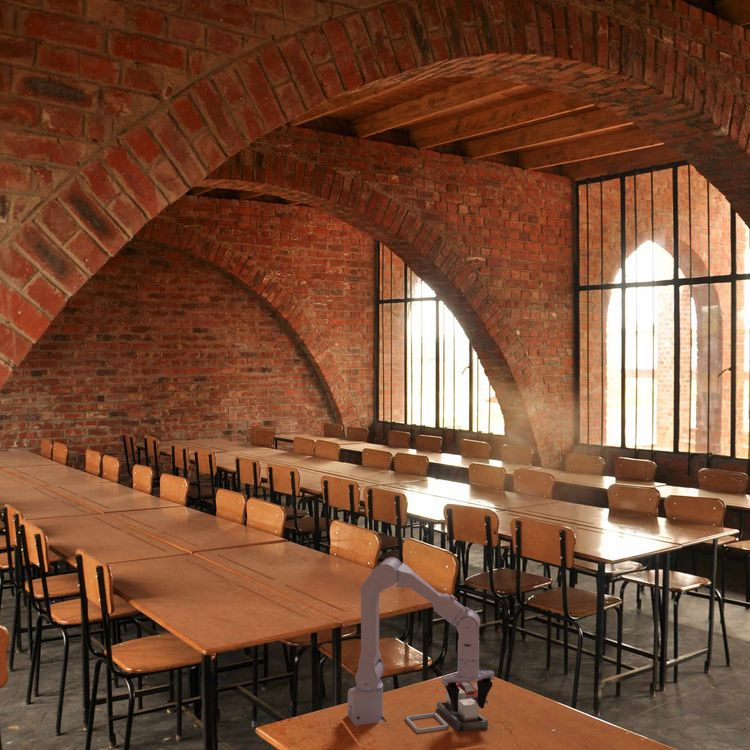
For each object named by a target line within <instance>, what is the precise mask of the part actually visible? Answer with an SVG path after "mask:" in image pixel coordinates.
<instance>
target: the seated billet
mask: <svg viewBox="0 0 750 750" xmlns="http://www.w3.org/2000/svg"><path fill="white" fill-rule="evenodd" d="M458 688H459V689H460V690H459V695H458V700H462V699H465V698H466V693H465V692H464V691H463V690H462V689H461V688H460V687H458ZM445 691H446V692H445V699H446V700H445V701H446V708H447V709H448V710H449V711H450V712H452V711H453V710H452V705H451V701H450V697H449V694H448V692H447V690H445Z"/></svg>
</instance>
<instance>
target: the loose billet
mask: <svg viewBox="0 0 750 750" xmlns="http://www.w3.org/2000/svg"><path fill="white" fill-rule="evenodd" d="M478 713H479V706H478V702H476V701H475V700H473V699H472V698H469V699H462V700H458V720H459V721H460V722H461V723H462V724H463V723H470V722H477V721H478Z"/></svg>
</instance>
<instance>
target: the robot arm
mask: <svg viewBox="0 0 750 750" xmlns="http://www.w3.org/2000/svg"><path fill="white" fill-rule="evenodd" d="M395 584H396V588H409V589H411V590H412V591H414V592H415V593H416V594H418V596H421V597H422V598H423V599H425V600H426V601H428V602H429V603H431V604H432V606H433V611H434V612H435V613H436V614H438V615H439V616H440V617H442V618H443V619H444V620H445V621H447V622H448V623H449V624H451V625H452V626H454V627H455V629H456V631H457V633H458V638H457V639H458V640H457V671H456V672H454V673H450V674H446V675H442V676H441V684H442V685H443V686H444V687H445V689H446V690H447V692H448V694H449V697H450V701H451V705H452V710H453V711H454V712H458V695H459V690H460V689H459V688H458V687H457V685H456V684H458V683H463V682H470V683H476V685H477V687H478V702H477V703H478V708H480V709H484V707H485V704H486V703H485V702H486V701H487V697H488V694H489V692H490V691H491V689H492V688H493V681H494V680H495V672H494V671H493V670H480V640H479V639H480V634H479V631H480V625H481V618H480V616H479V614H478V613H477V612H476V610H474V609H470V608H469V607H468V606H464V605H462V604H461V602H459V601H458V600H456V596H454V595H453V594H452V593H451V594H450V595H449V594H448V593H440V592H439V591H438V590H436V589H435V588H434V587H432V585H430V584H429V583H428V582H426V581H425V579H423V578H422V577H421V576H420V575H418V574H417V573H416V572H414V570H412V568H410V566H408V565H407V564H406V563H404V562H402V561H400V559H398V558H396V557H393V556H392V557H391V556H389V557H387V558H385V559H384V560H382V561H381V562H380V563H378V564H377V565H376V566H375V568H374V569H372V570H371V572H370V574H369V575H368V576H367V578H366V579H365V581H364V582H363V583H362V586H361V589H360V655H359V659H358V668H357V671H356V673H355V676H354V678H355V679H354V680H355V683H356V686H354V687H351V688H348V690H347V713H346V716H347V717H348V718H349V719H350V721H351V722H352V724H353V725H354V726H362V725H368V724H369V725H370V724H375V723H382V722H387V720H386V719H385V718H384V683H383V682H382V681H383V680H382V677H383V675H384V674H385V665H384V662H383V660H382V653H381V650H380V594H381V592H383V591H384V590H386V589H388V588H389V589H390V588H392V587H393V586H394V585H395ZM446 690H445V691H446Z"/></svg>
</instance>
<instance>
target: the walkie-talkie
mask: <svg viewBox="0 0 750 750" xmlns="http://www.w3.org/2000/svg"><path fill="white" fill-rule="evenodd" d="M456 685H457V687H460V688H461V689H462V690H463V691H464V692H465V693H466V698H465V699H469V698H472V699H473V700H475V701H476V702H477V703H478V687H477V684H472V682H463V683H456ZM488 703H489V702H488V700H486V701H485V704H488Z"/></svg>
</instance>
